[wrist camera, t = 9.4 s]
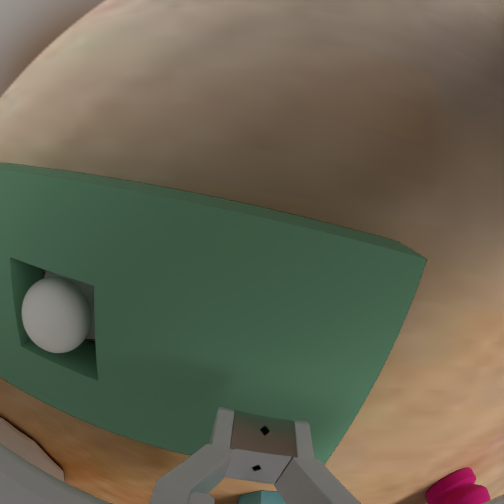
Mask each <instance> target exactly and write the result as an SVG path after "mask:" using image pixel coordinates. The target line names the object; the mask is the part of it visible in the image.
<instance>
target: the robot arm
mask: <svg viewBox="0 0 504 504" xmlns="http://www.w3.org/2000/svg"><path fill="white" fill-rule="evenodd" d="M224 477H227V478H233V479H240V480H248V481H249V480H250V481H255V482H262V483H269V484H275V485H274V486H275V487H276V489H277V490H278V492H279V493H280V495H281V497H282V498H283V500H284V501H285V503H286V504H361V503H360V502H359V501H358V500H357V499H356V498H355V497H354V496H353V495H352V494H351V493H350V492H349V491H348V490H347V489H346V488H345V487H344V486H343V485H342V484H341V483H340V482H339V481H338V480H337V479H336V478H335V476H334V475H333V474H332V473H331V472H330V471H329V470H328V469H327V468H326V467H325V466H324V465H323V464H322V463H321V462H320V460H319V459H314V453H313V446H312V439H311V432H310V425H309V423H308V422H305V421H296V420H289V419H281V418H274V417H268V416H260V415H255V414H250V413H246V412H241V411H237V410H231V409H227V408H223V407H219V408H218V410H217V414H216V418H215V421H214V425H213V428H212V432H211V436H210V441H209V444H206V445H205V446H203V447H202V448H201V449H199V450H198V451H197V452H195V453H194V454H193V455H191V456H190V457H189V458H187V459H186V460H185V461H183V462H182V463H181V464H179V465H178V466H177V467H175V468H174V469H172V470H171V471H170V472H168V473H167V474H165V475H164V476H162V477H161V478H159V479H158V480H157V481H156V485H155V488H154V491H153V494H152V497H151V500H150V504H214V502H215V499H214V498H213V497H212V496H211V495H210V494H208V493H209V492H210V491H211V490H212V489H213V488H214V487H215V486H216V485H217V484H218V483H219V482H220V481H221V480H222V479H223V478H224ZM0 504H112V503H109V502H107V501H104V500H102V499H99V498H97V497H95V496H92V495H90V494H88V493H86V492H83V491H81V490H79V489H77V488H75V487H73V486H71V485H69V484H67V483H65V482H63V481H61V480H59V479H57V478H55V477H53V476H52V475H50V474H48V473H46V472H44V471H43V470H41V469H39V468H38V467H36V466H34V465H33V464H31V463H29V462H28V461H26V460H24V459H23V458H21V457H20V456H18V455H17V454H15V453H14V452H12V451H11V450H9V449H8V448H6V447H5V446H4V445H2V444H1V443H0ZM482 504H504V494H503V495H501V496H499V497H496V498H494V499H492V500H489V501H487V502H485V503H482Z"/></svg>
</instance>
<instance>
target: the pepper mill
mask: <svg viewBox="0 0 504 504" xmlns="http://www.w3.org/2000/svg"><path fill="white" fill-rule="evenodd" d="M475 480H476V477H475V475H474V473H473V471H472V469H471V468H464V469H460V470H458V471H456V472H454V473H452V474H450V475H448V476H446V477H445V478H443V479H442V480H440V481H439V482H437V483H436V484H435V485H433V486H432V487H431V488H430V489H429V490H428V491H427V493H426V495H425V498H426V500H427V503H428V504H482V503H485V502H487V501H489V500H490V496H489V493H488V490H487V488H486V487H484V486H481V485H476V484H474V483H475Z"/></svg>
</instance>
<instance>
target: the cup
mask: <svg viewBox="0 0 504 504" xmlns="http://www.w3.org/2000/svg"><path fill="white" fill-rule="evenodd" d="M237 504H286V503H285V501H284V500H283V498H282V497H281V495H280V493H279V492H273V491H262V490H261V491H257V492H253V493H249V494H244V495H241V497H240V499H239V500H238V502H237Z"/></svg>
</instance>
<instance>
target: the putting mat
mask: <svg viewBox="0 0 504 504" xmlns="http://www.w3.org/2000/svg"><path fill="white" fill-rule="evenodd" d="M426 262H427V259H426V258H425V257H423V256H421V255H420V254H418V253H417V252H415V251H413V250H412V249H410V248H408V247H407V246H405V245H403V244H401V243H400V242H398V241H394V240H390V239H387V238H383V237H379V236H376V235H372V234H368V233H365V232H361V231H357V230H353V229H349V228H346V227H342V226H338V225H334V224H330V223H326V222H322V221H318V220H314V219H310V218H306V217H302V216H297V215H293V214H289V213H285V212H280V211H276V210H272V209H267V208H263V207H259V206H254V205H249V204H245V203H240V202H236V201H231V200H226V199H222V198H217V197H212V196H207V195H202V194H197V193H192V192H187V191H182V190H177V189H171V188H166V187H161V186H155V185H150V184H144V183H139V182H133V181H127V180H121V179H115V178H109V177H103V176H97V175H90V174H84V173H77V172H71V171H64V170H57V169H49V168H42V167H34V166H26V165H18V164H9V163H0V377H1V378H2V379H4V380H6V381H7V382H9V383H10V384H12V385H14V386H15V387H17V388H19V389H21V390H22V391H24V392H26V393H28V394H29V395H31V396H33V397H35V398H37V399H39V400H41V401H43V402H44V403H46V404H48V405H50V406H52V407H54V408H56V409H59V410H61V411H63V412H65V413H67V414H69V415H71V416H74V417H76V418H78V419H80V420H83V421H85V422H87V423H90V424H92V425H95V426H97V427H100V428H102V429H105V430H108V431H110V432H113V433H116V434H119V435H121V436H124V437H127V438H130V439H133V440H136V441H139V442H142V443H146V444H149V445H152V446H156V447H159V448H163V449H167V450H170V451H174V452H178V453H182V454H186V455H193V454H194V453H195V452H197V451H198V450H199V449H201V448H202V447H203V446H205V445H206V444H209V441H210V436H211V432H212V428H213V425H214V421H215V418H216V414H217V410H218V408H219V407H223V408H227V409H231V410H237V411H241V412H246V413H250V414H255V415H260V416H268V417H274V418H281V419H289V420H296V421H305V422H308V423H309V425H310V432H311V439H312V446H313V453H314V459H319V460H320V462H321V463H322V464H323V465H325V463H326V462H327V460H328V459H329V457H330V456H331V454H332V453H333V452H334V450H335V449H336V447H337V446H338V444H339V442H340V441H341V439H342V438H343V436H344V435H345V433H346V432H347V430H348V428H349V427H350V425H351V424H352V422H353V420H354V419H355V417H356V415H357V414H358V412H359V410H360V408H361V407H362V405H363V403H364V401H365V400H366V398H367V396H368V394H369V392H370V391H371V389H372V387H373V385H374V383H375V381H376V379H377V377H378V376H379V374H380V372H381V370H382V368H383V366H384V364H385V362H386V360H387V358H388V355H389V353H390V351H391V349H392V347H393V345H394V343H395V341H396V338H397V336H398V334H399V332H400V329H401V327H402V325H403V322H404V320H405V318H406V315H407V313H408V310H409V308H410V305H411V303H412V300H413V298H414V295H415V292H416V290H417V287H418V284H419V282H420V279H421V276H422V273H423V270H424V267H425V265H426ZM43 269H44V270H46V273H45V277H44V278H47V277H61V278H64V279H67V280H69V281H71V282H73V283H74V284H75V285H77V286H78V287H79V288H80V289H81V291H82V292H83V293H84V295H85V296H86V298H87V301H88V303H89V306H90V311H91V324H90V329H89V332H88V334H87V336H86V338H85V339H84V341H83V342H82V343H81V344H80V345H79V346H78V347H76V348H75V349H73V350H71V351H69V352H65V353H52V352H48V351H46V350H44V349H42V348H40V347H39V346H37V345H36V344H35V343H34V342H33V341H32V340H31V339H30V337H29V336H28V334H27V332H26V330H25V328H24V325H23V321H22V304H23V300H24V297H25V295H26V293H27V291H28V290H29V289H30V287H31V286H32V285H33V284H35V283H36V282H37V281H39V280H41V279H43ZM86 339H95V343H94V342H91V341H89V340H86Z"/></svg>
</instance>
